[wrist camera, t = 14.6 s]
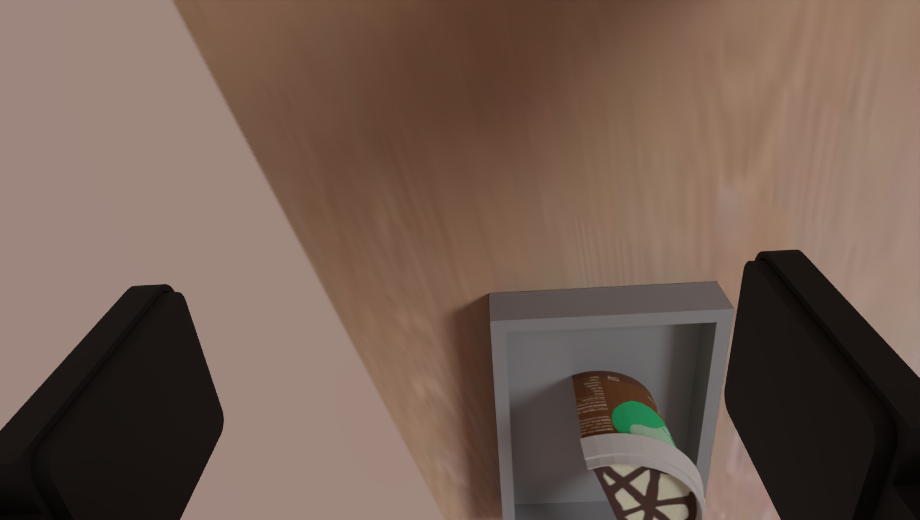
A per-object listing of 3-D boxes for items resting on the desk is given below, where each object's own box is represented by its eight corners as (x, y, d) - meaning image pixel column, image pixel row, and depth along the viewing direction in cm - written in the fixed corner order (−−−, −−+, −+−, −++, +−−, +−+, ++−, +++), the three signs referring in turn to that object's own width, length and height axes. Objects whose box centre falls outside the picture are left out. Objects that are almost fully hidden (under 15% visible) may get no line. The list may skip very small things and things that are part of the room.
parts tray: (716, 281, 45) (734, 308, 42) (687, 498, 56) (699, 533, 53) (489, 293, 46) (490, 321, 43) (502, 505, 57) (503, 539, 54)
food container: (689, 448, 52) (732, 559, 43) (615, 470, 53) (643, 581, 44) (645, 333, 46) (684, 433, 38) (564, 360, 48) (584, 463, 39)
